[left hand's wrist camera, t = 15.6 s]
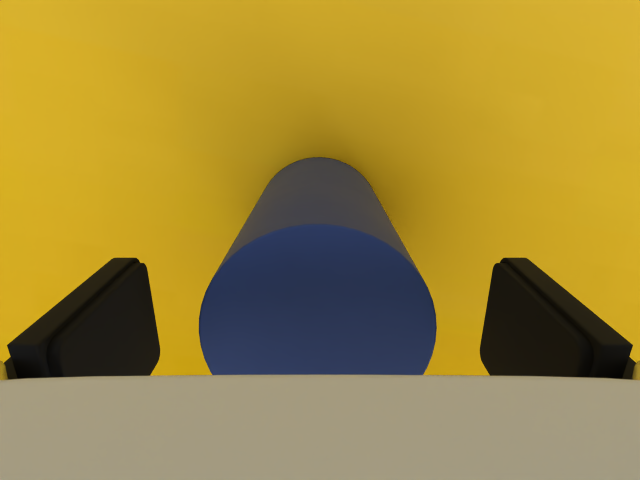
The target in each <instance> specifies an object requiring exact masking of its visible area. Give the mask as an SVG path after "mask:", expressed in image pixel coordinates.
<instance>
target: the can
mask: <svg viewBox="0 0 640 480" xmlns="http://www.w3.org/2000/svg"><path fill="white" fill-rule="evenodd" d="M436 329H437V327H436V313H435V309H434V304H433V300H432V298H431V295H430V292H429V290H428V287H427V285H426V284H425V282H424V280H423V278H422V277H421V275H420V273H419V271H418V269H417V268H416V266H415V264H414V262H413V261H412V259H411V257H410V255H409V253H408V252H407V250H406V248H405V246H404V245H403V243H402V241H401V239H400V237H399V236H398V234H397V232H396V230H395V229H394V227H393V225H392V223H391V221H390V220H389V218H388V216H387V214H386V213H385V211H384V209H383V207H382V205H381V204H380V202H379V200H378V198H377V197H376V195H375V193H374V191H373V189H372V188H371V186H370V184H369V183H368V182H367V180H366V179H365V178H364V177H363V176H362V175H361V174H360V173H359V172H358V171H357V170H355V169H354V168H353V167H351V166H349V165H347V164H346V163H343V162H341V161H338V160H335V159H330V158H322V157H317V158H307V159H303V160H300V161H297V162H294V163H292V164H290V165H288V166H287V167H285V168H283V169H282V170H281V171H280V172H278V173H277V174H276V175H275V176H274V177H273V178H272V180H271V181H270V182H269V184H268V185H267V187H266V188H265V190H264V192H263V194H262V195H261V197H260V199H259V200H258V202H257V204H256V205H255V207H254V209H253V210H252V212H251V214H250V216H249V217H248V219H247V221H246V222H245V224H244V226H243V227H242V229H241V231H240V233H239V234H238V236H237V238H236V239H235V241H234V243H233V244H232V246H231V248H230V249H229V251H228V253H227V255H226V256H225V258H224V260H223V261H222V263H221V265H220V266H219V268H218V270H217V272H216V273H215V275H214V277H213V278H212V280H211V282H210V284H209V286H208V288H207V290H206V292H205V295H204V298H203V301H202V305H201V310H200V316H199V336H200V343H201V348H202V351H203V355H204V358H205V361H206V363H207V365H208V367H209V369H210V371H211V373H212V375H423V374H424V372H425V370H426V369H427V367H428V364H429V362H430V359H431V357H432V353H433V349H434V345H435V340H436Z"/></svg>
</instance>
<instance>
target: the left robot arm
mask: <svg viewBox="0 0 640 480" xmlns="http://www.w3.org/2000/svg"><path fill="white" fill-rule="evenodd" d="M7 346H8V349H9V353H10V356H11V357H10V358H9V359H8V360H7V361H6V362H4V363H3V362H2V361H0V480H640V361H638V362H637V363H636V362H634V361H633V360H632V359H631V358H630V357H629V356H630V353H631V349H632V346H633V345H632V344H631V343H630V342H628V341H627V340H626V339H625V338H624V337H622V336H621V335H620V334H619V333H617V332H616V331H615V330H614V329H613V328H611V327H610V326H609V325H608V324H606V323H605V322H604V321H603V320H602V319H600V318H599V317H598V316H597V315H596V314H594V313H593V312H592V311H591V310H589V309H588V308H587V307H586V306H585V305H583V304H582V303H581V302H580V301H578V300H577V299H576V298H575V297H574V296H572V295H571V294H570V293H569V292H568V291H566V290H565V289H564V288H563V287H561V286H560V285H559V284H558V283H557V282H555V281H554V280H553V279H552V278H550V277H549V276H548V275H547V274H546V273H544V272H543V271H542V270H541V269H540V268H538V267H537V266H536V265H535V264H533V263H532V262H531V261H530V260H529V259H527V258H503V259H502V260H501V262H500V263H496V264H495V265H494V267H493V272H492V278H491V284H490V290H489V296H488V302H487V308H486V314H485V321H484V327H483V333H482V339H481V345H480V357H481V360H482V363H483V364H484V366H485V368H486V369H487V371H488V373H489V374H490V376H461V375H177V376H150V374H151V373H152V371H153V369H154V368H155V366H156V364H157V363H158V360H159V357H160V345H159V339H158V333H157V327H156V321H155V315H154V308H153V302H152V296H151V290H150V284H149V278H148V272H147V267H146V265H145V264H144V263H140V262H139V260H138V259H137V258H113V259H111V260H110V261H109V262H108V263H107V264H105V265H104V266H103V267H102V268H100V269H99V270H98V271H97V272H96V273H94V274H93V275H92V276H91V277H90V278H88V279H87V280H86V281H85V282H83V283H82V284H81V285H80V286H79V287H77V288H76V289H75V290H74V291H72V292H71V293H70V294H69V295H68V296H66V297H65V298H64V299H63V300H62V301H60V302H59V303H58V304H57V305H55V306H54V307H53V308H52V309H51V310H49V311H48V312H47V313H46V314H44V315H43V316H42V317H41V318H40V319H38V320H37V321H36V322H35V323H34V324H32V325H31V326H30V327H29V328H27V329H26V330H25V331H24V332H23V333H21V334H20V335H19V336H18V337H16V338H15V339H14V340H13V341H12V342H10V343H9V344H8V345H7Z"/></svg>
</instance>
